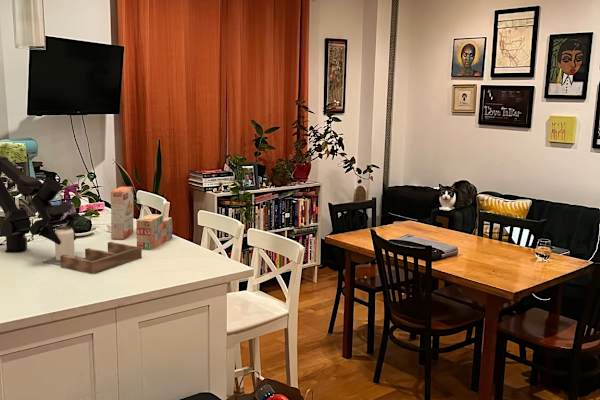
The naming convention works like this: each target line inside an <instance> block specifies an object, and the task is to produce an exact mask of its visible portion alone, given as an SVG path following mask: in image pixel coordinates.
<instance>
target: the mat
mask: <svg viewBox="0 0 600 400" xmlns="http://www.w3.org/2000/svg"><path fill="white" fill-rule="evenodd" d="M75 258H80V259H85V257H83V256H78V255H75ZM42 263H45V264H50V265H56V266H60V267H61V263H60V261H57V260H56V257H54V258H50V259H46V260H43V261H42Z"/></svg>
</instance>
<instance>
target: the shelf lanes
mask: <svg viewBox="0 0 600 400" xmlns="http://www.w3.org/2000/svg"><path fill="white" fill-rule="evenodd" d="M142 253H143V250H142V247H137V245H136V246H135V245H132V244H131V245H129V244H124V243H119V242H113V241H108V242H107V251H104V250H99V249H94V248H90V247H87V248H85V249H84V255H85V257H84V258H85V259H80V258H75V257H70V256H65V255H62V256H60V263H61V266H60V268H64V269H69V270H72V271H73V270H74V271H77V272H81V273H82V272H84V273H86V272H87V273H86V274H91V273H92V275H94V273H95V274H98V273H101V272H105V271H106V270H109V269H112V268H115V267H119V266H122V265H125V264H127V263H130V262H133V261H137V260H139V259H142V257H143V256H142ZM90 260H91V261H90ZM97 272H98V273H97Z"/></svg>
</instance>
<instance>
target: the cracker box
mask: <svg viewBox="0 0 600 400" xmlns="http://www.w3.org/2000/svg"><path fill="white" fill-rule="evenodd" d="M110 215H111V216H110V222H111V223H110V226H111V227H110V232H111V234H110V235H111V236H110V237H111V240H125V239H126V238H128V237H129V236H130V235H132V234H133V233H134V187H133V186H119V187H116V188H115V189H112V190H111V191H110Z"/></svg>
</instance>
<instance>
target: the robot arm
mask: <svg viewBox="0 0 600 400" xmlns="http://www.w3.org/2000/svg"><path fill="white" fill-rule="evenodd" d="M2 174H3V175H5V176H6V177H8V179H9V180H11V181H12V182H13V183H14V184H15V185H16V189H17V191H18V192H19V193H20V194H21V195H22V197H24V198H27V197H32V198H29V199H28V204H27V207H33V208H34V209H35V211H36V212H37V214H38V215H37V216H36V217H37V218H38V220H35V221H34V222H33V223H32V221H31V217H30V216H29V214H28V212H27V210H26V209H24V208H23V209H20V208H19V207H18V206H17V204H16V203H15V200H14V199H13V197H12V195H11V193H10V192H9V190H8V188H7V185H6V184H5V183H4V180H3V178H2ZM61 190H62V185H61V183H59V182H58V181H56V180H54V179H52V178H51V177H45V178H44V180H43V181H41V180H39V179H38V178H36V177H33V176H30V175H27V174H26V173H25V172H24V171H22V170H21V169H20V168H19V167H17V166H16V165H15V164H14V163H13V162H11V161H10V159H9V158H8V157H7V156H0V207H1V210H2V212H3V213H4V218H3V222H4V226H3V227H2V228H1V229H0V233H1V236H2V237H5V241H6V243H5V244H6V250H5V253H22V252H25V251H26V249H28V237H27V236H26V234H31V235H32V236H37V235H38V236H39V237H43V238H45V239H47V240H49V241H51V242H53V243H54V244H55V243H57V244H58V245H59V244H61V242H60V240H59V238H58V237H57V235H56V233H55V230H54V227H58V226H71V227H72V229H73V231H74V242H75V241H76V240H77V238H76V234H75V227H74V226H75V224H76V223H77V222H78V221H79V220H80V218H81V217H80V215H79V214H78V212H71V213H69V212H70V210H72V208H73V207H72V204H71V203H70V202H69V201H68V200H66V201H63V202H62V203H60V204H57V205H56V204H52V202H51V201H54V200H55V198H56V197H57V196H58V194H59V193H60V192H61ZM66 213H68V214H67V215H65V214H66ZM64 216H65V217H64Z"/></svg>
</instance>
